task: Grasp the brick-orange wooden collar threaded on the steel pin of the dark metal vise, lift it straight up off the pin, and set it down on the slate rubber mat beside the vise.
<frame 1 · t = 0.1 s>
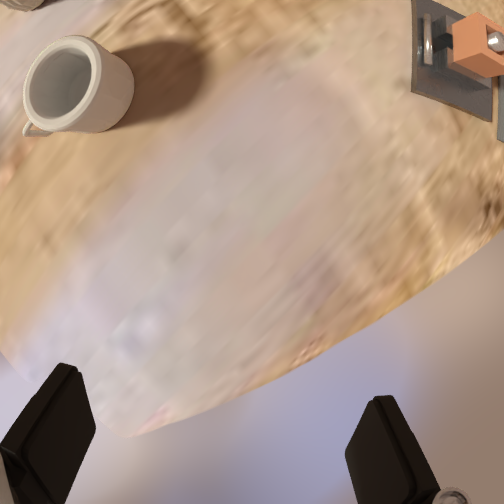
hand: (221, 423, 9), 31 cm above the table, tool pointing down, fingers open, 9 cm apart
vise: (452, 57, 32), on the table
mug: (91, 101, 34), on the table
collar: (469, 51, 27), point 4 cm above the table, touching vise
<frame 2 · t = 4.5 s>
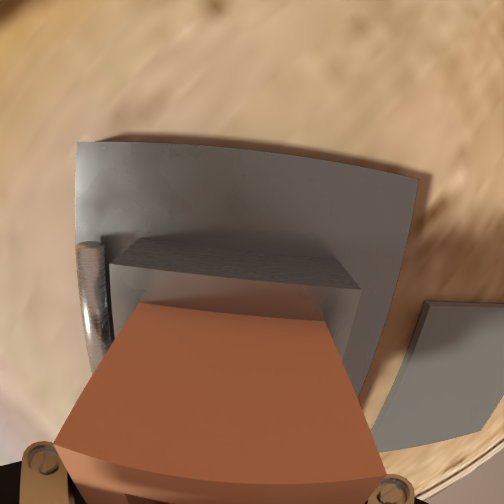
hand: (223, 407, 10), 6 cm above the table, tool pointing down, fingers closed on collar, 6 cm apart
vise: (230, 323, 15), on the table
collar: (224, 385, 11), point 5 cm above the table, touching gripper, vise
mat: (461, 381, 17), on the table
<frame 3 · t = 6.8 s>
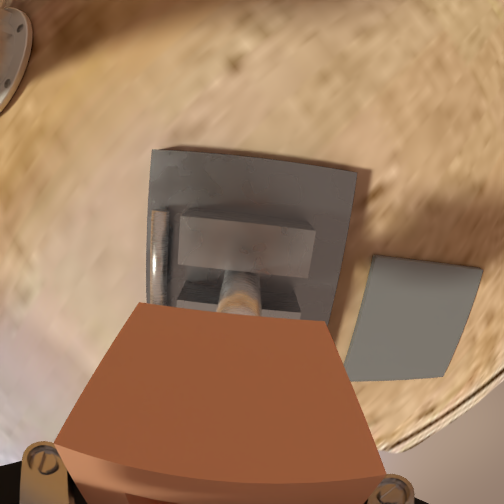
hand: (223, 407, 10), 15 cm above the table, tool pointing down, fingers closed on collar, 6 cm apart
vise: (242, 265, 24), on the table
collar: (224, 385, 11), point 14 cm above the table, touching gripper
mat: (414, 324, 26), on the table
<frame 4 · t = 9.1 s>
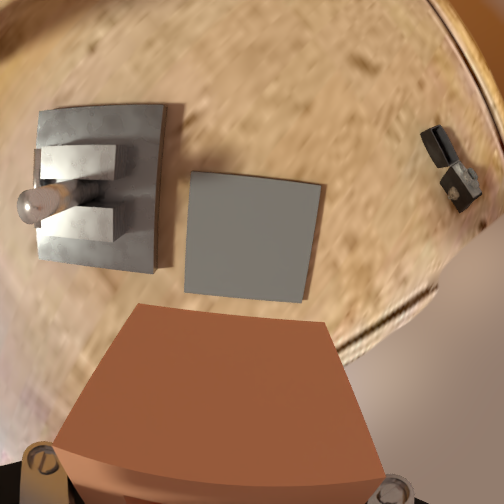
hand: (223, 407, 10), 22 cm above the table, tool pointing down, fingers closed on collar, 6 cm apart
vise: (95, 186, 29), on the table
lighter: (436, 168, 29), on the table
collar: (224, 386, 11), point 21 cm above the table, touching gripper
mat: (249, 239, 31), on the table
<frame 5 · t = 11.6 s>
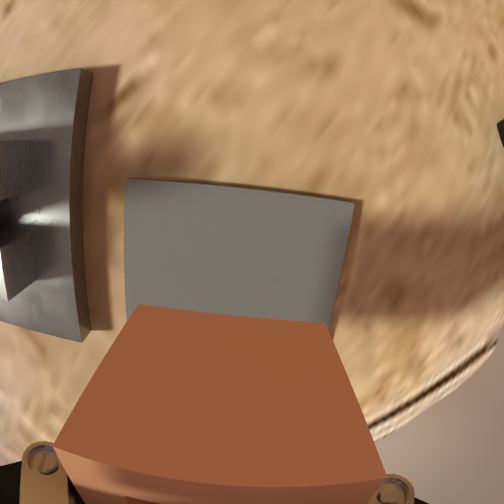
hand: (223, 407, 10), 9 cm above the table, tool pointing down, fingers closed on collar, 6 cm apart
vise: (0, 205, 16), on the table
collar: (224, 386, 11), point 8 cm above the table, touching gripper
mat: (229, 293, 18), on the table
when the fingers open (3 cm above the table, at t = 13.7 s): collar drops 1 cm, resting on mat.
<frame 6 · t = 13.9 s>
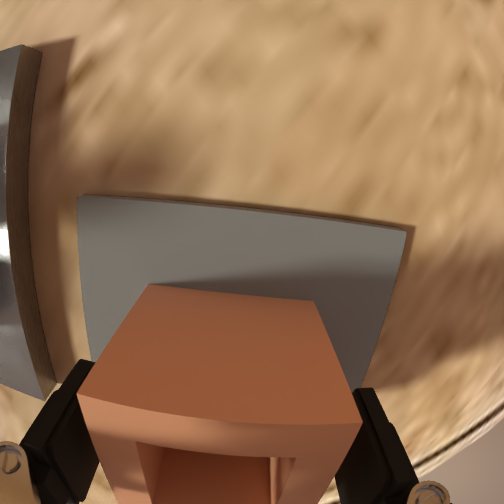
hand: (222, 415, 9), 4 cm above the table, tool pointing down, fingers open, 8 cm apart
collar: (224, 360, 12), point 1 cm above the table, touching mat
mat: (227, 353, 13), on the table
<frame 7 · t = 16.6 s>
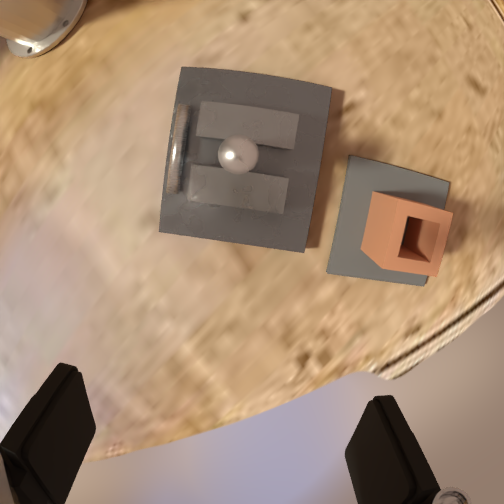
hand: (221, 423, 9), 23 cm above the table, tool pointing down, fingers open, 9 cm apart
vise: (243, 156, 29), on the table
collar: (392, 225, 30), point 1 cm above the table, touching mat
mat: (391, 224, 31), on the table
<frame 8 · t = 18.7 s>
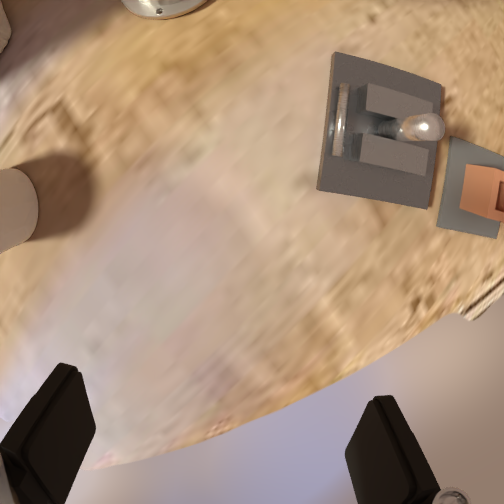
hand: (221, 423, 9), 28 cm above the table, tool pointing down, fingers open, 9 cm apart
vise: (382, 131, 33), on the table
mug: (9, 211, 35), on the table
collar: (478, 190, 34), point 1 cm above the table, touching mat
mat: (476, 190, 35), on the table
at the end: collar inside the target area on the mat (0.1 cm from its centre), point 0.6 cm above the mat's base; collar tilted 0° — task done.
